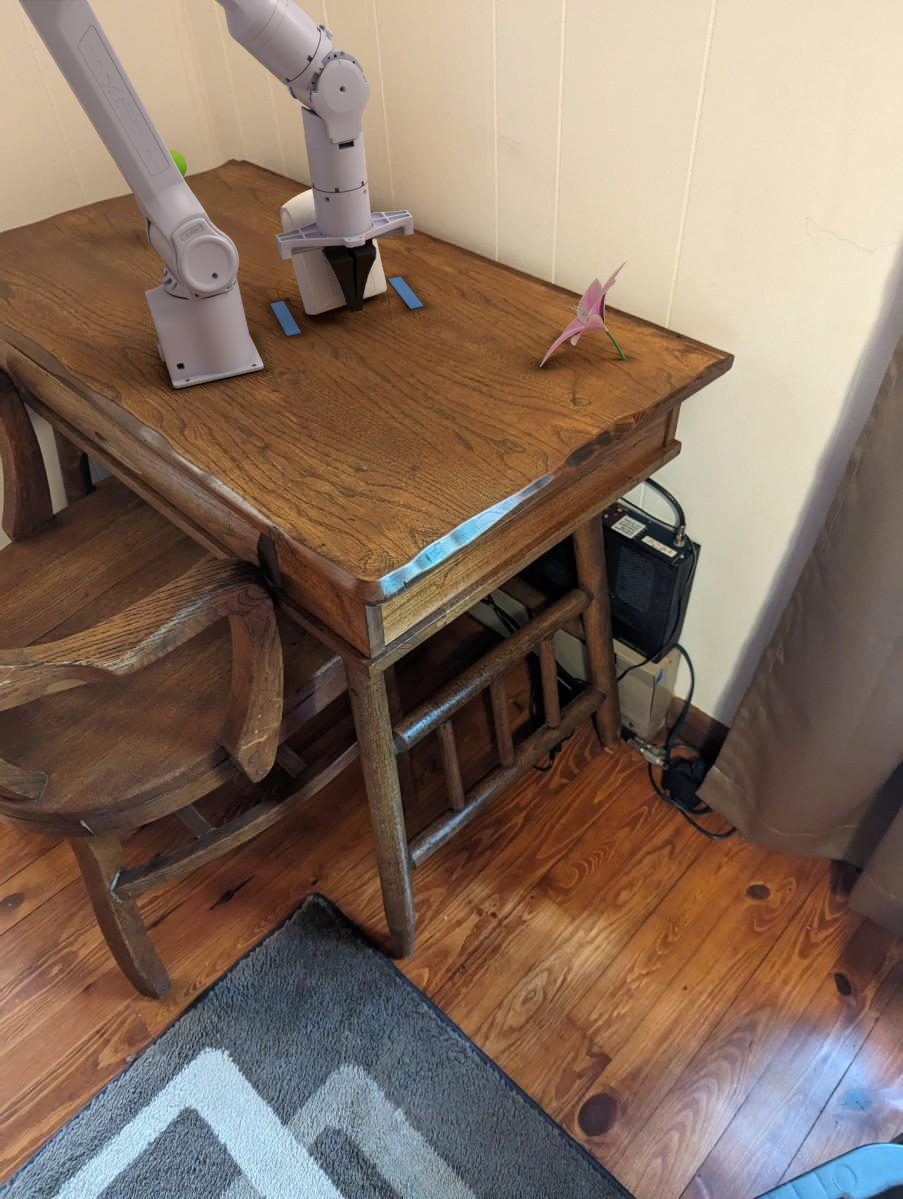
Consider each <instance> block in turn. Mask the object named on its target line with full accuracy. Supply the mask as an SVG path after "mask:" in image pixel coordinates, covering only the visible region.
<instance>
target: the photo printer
mask: <svg viewBox="0 0 903 1199" xmlns="http://www.w3.org/2000/svg"><path fill="white" fill-rule="evenodd" d="M279 211H280V212H279V213H280V214H279V215H280V216H279V217H280V221H281V226H282V231H283V233H286V232H289V231H292V230H295V229H297V228H300V227H303V226H305V225H308V224H311V223H314V222H316V214H315V207H314V200H313V192H312V188H311V189H308V190H305V191H303V192H300V193H298V194H297V195H296V196H294V197H292V198H291V199H288V201H286V202H285V203H284V204H283V205H281V207H280V210H279ZM372 240H373V245H374V246H375V247H376V259H375V261H374V263H373V265H372V268H371V270H370V273H369V276H368V279H367V282H366V287H365V291H364V298H363V300H365V299H368V298H371V297H374V296H377V295H382V294H385V293H386V292H387V289H388V287H387V281H386V276H385V273H384V268H383V263H382V260H381V259H382V258H381V255H380V254H381V253H380V249H379V245H378V239H372ZM290 260H291V263H292V268H293V271H294V275H295V278H296V282H297V286H298V289H299V290H298V291H299V293H300V296H301V300H302V304H303V308H304V312H305V313H306V314H307V315H311V316H312V315H313V316H314V315H315V316H316V315H319V314H321V313H322V314H323V313H324V312H325V313H326V312H329V311H331V310H334V309H337V308H341V307H343V306H347V305H346V301H345V297H344V294H343V291H342V288H341V286H340V283H339V281H338V279H337V277H336V275H335V273H334V271H333V269H332V267H331V265H330V263H329V262H328V260H327V258H326V257H325V255H324V253H323V252H322V250H317V251H312V252H307V253H302V254H297V255H292V258H291V259H290Z"/></svg>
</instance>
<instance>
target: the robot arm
mask: <svg viewBox="0 0 903 1199" xmlns="http://www.w3.org/2000/svg"><path fill="white" fill-rule="evenodd" d="M17 1H18V3H19V4H20V6H21V8H22V9H23V11H24V13H25V14H26V16H27V18H28V19H29V21H30V23H31V25H32V26H33V28H34V30H35V31H36V33H37V34H38V36H39V38H40V39H41V41H42V43H43V44H44V46H45V48H46V50H47V51H48V53H49V55H50V57H51V58H52V60H53V61H54V63H55V64H56V66H57V68H58V70H59V71H60V73H61V75H62V76H63V79H64V80H65V81H66V83H67V85H68V86H69V88H70V90H71V91H72V93H73V95H74V96H75V98H76V100H77V102H78V103H79V105H80V106H81V109H82V110H83V112H84V113H85V115H86V116H87V119H88V120H89V122H90V123H91V125H92V127H93V129H94V130H95V132H96V134H97V136H98V138H99V139H100V140H101V142H102V144H103V145H104V147H105V148H106V150H107V152H108V153H109V155H110V157H111V159H112V161H113V162H114V164H115V165H116V167H117V168H118V170H119V172H120V174H121V175H122V177H123V179H124V180H125V182H126V184H127V185H128V187H129V189H130V191H131V192H132V195H133V196H134V199H135V204H136V205H137V206H138V208H139V210H140V212H141V214H142V216H143V219H144V222H145V231H146V238H147V241H148V244H149V245H150V247H151V249H152V251H153V252H154V253H155V254H157V256H159V258H161V259H162V261H163V262H164V264H165V265H164V267H163V273H162V279H161V281H162V284H160V285H158V286H156V287H154V288H151V289H147V290H145V291H144V295H145V298H146V302H147V305H148V308H149V311H150V314H151V318H152V321H153V325H154V328H155V331H156V335H157V338H158V342H159V343H158V344H157V345H156V346H157V349H158V353H159V356H160V359H161V362H162V363H165V365H166V367H167V370H168V374H169V377H170V380H171V383H172V387H173V388H175V389H182V388H186V387H190V386H195V385H198V384H204V383H209V382H213V381H218V380H222V379H226V378H230V377H234V376H239V375H243V374H247V373H248V374H249V373H252V372H256V371H257V372H258V371H260V370H263V369H264V367H265V366H264V362H263V360H262V358H261V356H260V354H259V352H258V349H257V348H256V345H255V343H254V340H253V339H252V337H251V335H250V332H249V327H248V323H247V317H246V313H245V309H244V303H243V300H242V294H241V289H240V286H239V281H238V276H237V274H238V272H239V266H240V258H239V251H238V249H237V246H236V244H235V243H234V241H233V240H232V239H231V237H229V236H228V235H227V234H226V233H225V232H223V230H221V229H219V228H218V227H217V226H216V225H215V224H214V223H213V222H212V221H211V219H210V218H209V216H208V214H207V212H206V210H205V209H204V207H203V206H202V204H201V202H200V201H199V200H198V198H197V196H196V195H195V193H194V192H193V190H192V189H191V188H190V186H189V185H188V184H187V182H186V180H185V178H184V177H183V176H182V175H181V173H180V171H179V169H178V167H177V165H176V163H175V162H174V160H173V158H172V156H171V154H170V152H169V150H170V149H168V147H167V145H166V143H165V141H164V139H163V138H162V136H161V133H160V132H159V130H158V128H157V126H156V124H155V122H154V121H153V119H152V117H151V115H150V113H149V111H148V110H147V108H146V106H145V104H144V102H143V100H142V98H141V96H140V95H139V93H138V90H137V89H136V87H135V85H134V84H133V81H132V79H131V78H130V76H129V75H128V73H127V71H126V69H125V67H124V65H123V63H122V62H121V61H122V60H120V57H119V56H118V54H117V52H116V50H115V48H114V46H113V45H112V43H111V41H110V38H109V37H108V35H107V33H106V32H105V30H104V28H103V26H102V24H101V22H100V20H99V19H98V17H97V15H96V13H95V11H94V10H93V8H92V5H91V4H90V2H89V0H17ZM214 1H215V2H216V3H218V5H220V6H221V7H222V8H223V10H224V14H225V19H226V26H227V30H228V33H229V36H230V37H231V38H232V39H233V40H234V41H235V42H236V43H238V44H239V45H240V46H241V47H242V48H243V49H244V50H245V51H247V52H248V53H249V55H251V56H252V57H253V58H254V59H255V60H256V61H258V62H259V63H260V64H261V66H263V67H264V68H265V69H266V70H267V71H268V72H269V73H270V74H272V75H273V76H274V78H276V79H277V80H278V81H280V83H282V85H284V86H285V87H287V91H288V93H289V95H290V96H291V97H292V99H294V100H297V101H299V102H300V103H301V104H302V106H301V107H300V111H301V118H302V124H303V132H304V141H305V142H304V143H305V149H306V155H307V162H308V170H309V176H310V178H309V179H310V184H311V189H312V192H313V200H314V207H315V214H316V222H314V223H311V224H308V225H305V226H303V227H300V228H297V229H295V230H292V231H289V232H286V233H284V232H283V233H278V234H275V235H274V236H275V242H276V247H277V254H278V255H279V257H280V259H282V261H286V260H291V258H292V255H297V254H302V253H307V252H312V251H317V250H322V252H323V253H324V255H325V257H326V258H327V260H328V262H329V263H330V265H331V267H332V269H333V271H334V273H335V275H336V277H337V279H338V281H339V283H340V286H341V288H342V291H343V294H344V297H345V301H346V305H345V306H346V307H347V308H348V310H349V311H350V312H351V313H355V312H360V311H362V310H363V308H364V306H363V305H364V299H363V298H364V291H365V287H366V282H367V279H368V276H369V273H370V270H371V268H372V265H373V263H374V261H375V259H376V247H375V246H374V245H373V240H372V239H376V240H378V239H382V238H387V237H392V236H397V235H403V236H411V235H414V217H413V216H412V214H411V213H410V212H409V211H408V210H407V209H402V210H395V211H378V212H377V211H375V212H371V210H372V209H371V201H370V200H371V199H370V191H369V181H368V170H367V169H368V168H367V160H366V149H365V139H364V129H363V121H362V120H363V119H362V118H363V112H364V110H365V109H366V106H367V105H368V102H369V99H370V94H371V82H370V81H368V80H367V79H366V76H365V75H364V74H363V72H364V69H363V67H362V66H361V64H360V62H359V61H358V60H357V58H355V57H354V56H353V55H351V54H349V53H348V52H346V51H344V50H342V49H340V48H339V47H336V46H334V45H333V42H332V38H333V36H334V33H333V32H332V30H331V29H330V28H329V27H328V26H327V25H325V24H323V23H320V24H319V25H318V24H317V23H316V22H315V21H314V20H313V19H312V17H310V16H309V15H308V13H307V12H305V11H304V9H303V8H302V7H301V6H300V5H299V4H298V3H296V2H295V0H214Z"/></svg>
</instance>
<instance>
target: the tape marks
mask: <svg viewBox="0 0 903 1199" xmlns="http://www.w3.org/2000/svg"><path fill="white" fill-rule="evenodd" d="M387 280H388V282H389V284H391V286H392V287H393V288H394V290H395V291H396V293H398V295H399V296H400V297H401V299H402V300H403V301H404V303H405V304H406V305H407V308H408V309H410V310H412V309H418V308H422V307H424V304H423V302H421V300H420V299H419V298H418V297H417V296H416V294H415V293H414V292H413V290H412V289H411V288H410V286H408V284H407V283H406V281H404V279H403V278H402V276H397V277H392V278H388V279H387ZM269 306H270V307H271V309H272V310H273V312H274V315H275V316H276V318H277V320H278V322H279V324H280V326H281V328H282V329H283V332H284V333H285V335H286V337H290V336H291V337H292V336H295V335H300V334H302V332H301V329H300V328H299V326H298V325H297V323H296V320H295V319H294V318H293V315H292V314H291V312H290V310H289V308H288V306H287V304H286V302H285V301H284V300H281V301H277V302H273V303H270V305H269Z"/></svg>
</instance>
